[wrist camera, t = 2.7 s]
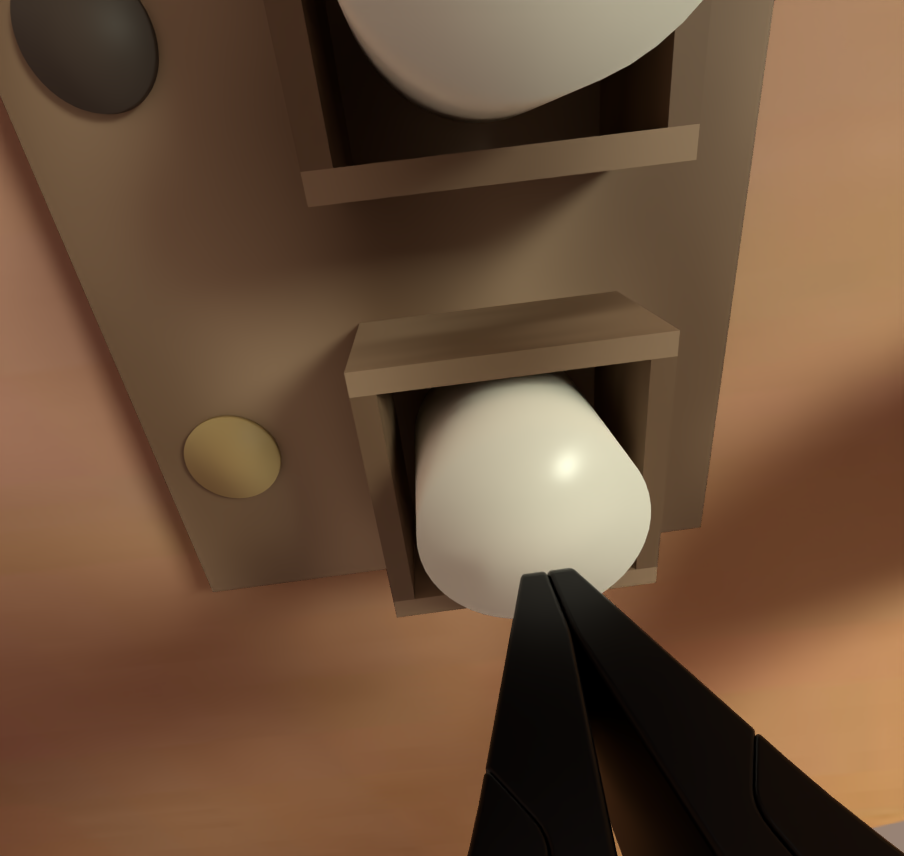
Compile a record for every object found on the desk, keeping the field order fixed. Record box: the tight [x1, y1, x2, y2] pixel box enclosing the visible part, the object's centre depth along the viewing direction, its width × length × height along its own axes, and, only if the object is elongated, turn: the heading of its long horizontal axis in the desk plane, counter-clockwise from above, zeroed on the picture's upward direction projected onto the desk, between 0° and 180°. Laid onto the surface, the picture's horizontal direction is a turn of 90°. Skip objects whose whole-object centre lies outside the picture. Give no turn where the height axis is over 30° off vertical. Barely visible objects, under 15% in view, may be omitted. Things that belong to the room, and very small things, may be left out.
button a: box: [415, 371, 651, 619], centre depth 12 cm, size 4×4×4 cm
